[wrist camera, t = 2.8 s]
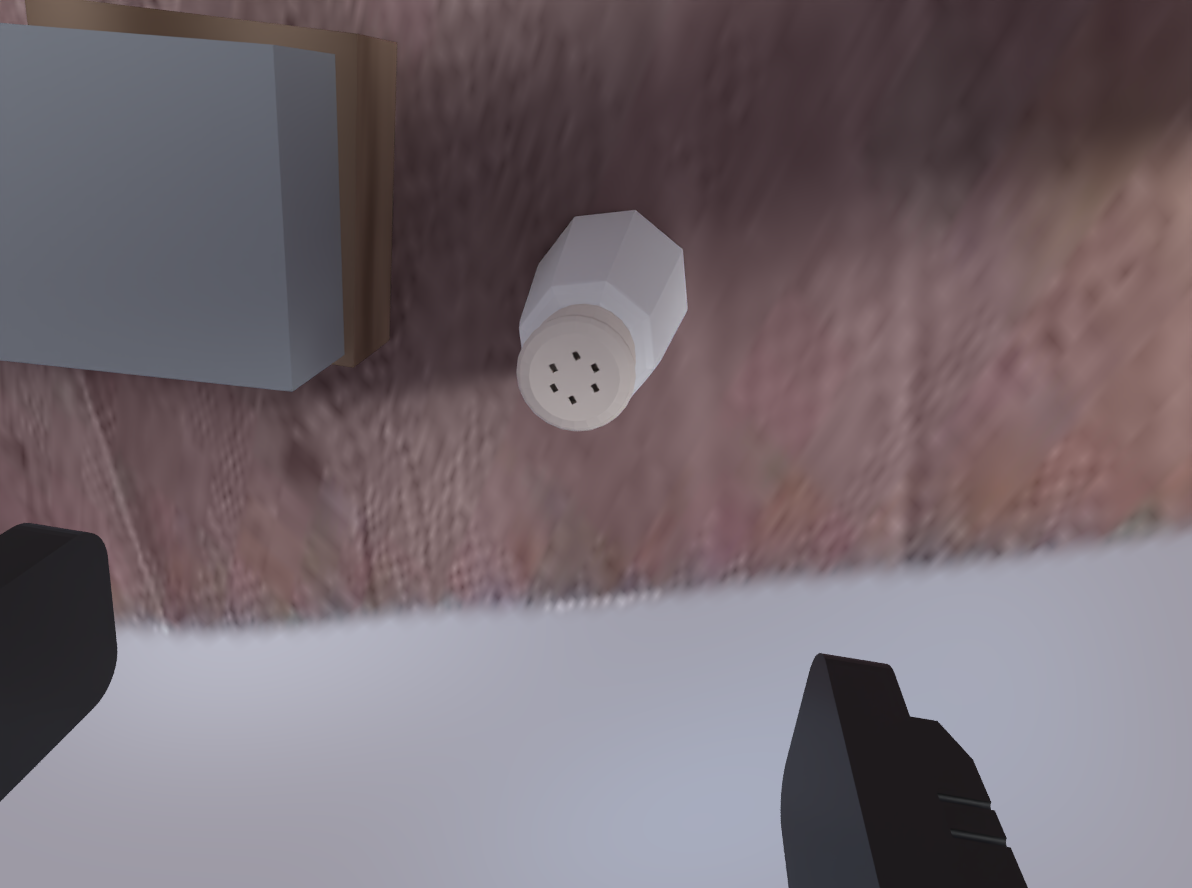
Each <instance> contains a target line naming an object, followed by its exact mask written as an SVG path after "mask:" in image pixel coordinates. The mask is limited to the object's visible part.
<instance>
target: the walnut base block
mask: <svg viewBox="0 0 1192 888" xmlns="http://www.w3.org/2000/svg"><path fill="white" fill-rule="evenodd" d="M25 5H26V13H27V22H28V25H32V26H44V27H57V28H69V29H82V30H94V31H107V32H120V33H132V34H145V35H157V36H170V37H182V38H195V39H207V40H220V41H232V42H245V43H258V44H270V45H278V46H285V47H291V48H298V49H304V50H311V51H317V52H324V53H330V54H335V70H336V101H337V133H338V164H339V195H340V227H341V258H342V289H343V321H344V352H345V355H343V356H342V357H341V358H339V359H338V360H336V361H335V362H334V363H332V365H339V366H346V367H353V368H354V367H355V366H356V365H358V364H359V363H360V362H362V361H363V360H364V359H366V358H367V357H368V356H369V355H371V354H372V353H373V352H375V351H376V350H377V349H379V348H380V347H381V346H383V345H384V344H385V343H386V342H388V341H389V336H390V297H391V259H392V220H393V181H394V143H395V104H396V65H397V43H396V42H391V41H387V40H383V39H378V38H374V37H369V36H365V35H360V34H355V33H347V32H339V31H330V30H322V29H314V28H306V27H298V26H289V25H281V24H273V23H265V22H256V21H248V20H240V19H232V18H224V17H215V16H207V15H199V14H191V13H183V12H174V11H166V10H158V9H150V8H142V7H133V6H125V5H117V4H109V3H100V2H92V1H84V0H25Z"/></svg>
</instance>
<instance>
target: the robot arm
mask: <svg viewBox="0 0 1192 888" xmlns="http://www.w3.org/2000/svg"><path fill="white" fill-rule="evenodd" d="M116 661H117V641H116V631H115V621H114V612H113V602H112V592H111V583H110V573H109V564H108V555H107V550H106V547H105V544H104V543H103V541H102V539H101V538H100V537H99V536H97V535H95V534H93V533H88V532H82V531H75V530H69V529H63V528H57V527H51V526H45V525H38V524H32V523H23V524H19V525H16V526H14V527H12V528H11V529H9V530H7V531H6V532H4V533H3V534H1V535H0V801H1V800H2V799H3V798H4V797H5V796H6V795H7V794H8V793H9V792H10V791H11V790H12V789H13V788H14V787H15V786H16V785H17V784H18V783H19V782H20V781H21V780H22V779H23V778H24V777H25V776H26V775H27V774H28V773H29V772H30V771H31V770H32V769H33V768H34V767H35V766H36V765H37V764H38V763H39V762H40V761H41V760H42V759H43V758H44V757H45V756H46V755H47V754H48V753H49V752H50V751H51V750H52V749H53V748H54V747H55V746H56V745H57V744H58V743H59V742H60V741H61V740H62V739H63V738H64V737H65V736H66V735H67V734H68V733H69V732H70V731H71V730H72V729H73V728H74V727H75V726H76V725H77V724H78V723H79V722H80V721H81V720H82V719H83V718H84V717H85V716H86V715H87V714H88V713H89V712H90V711H91V710H92V709H93V708H94V707H95V706H96V705H97V704H98V702H99V701H100V700H101V698H102V697H103V695H104V694H105V692H106V690H107V688H108V686H109V684H110V682H111V679H112V677H113V674H114V670H115V666H116ZM990 804H991V801H990V798H989V796H988V794H987V792H986V789H985V787H984V784H983V782H982V780H981V778H980V775H979V773H978V771H977V768H976V766H975V763H974V761H973V759H972V758H971V757H970V756H969V755H968V754H967V753H966V752H965V751H964V750H963V748H962V747H961V746H960V745H959V744H958V743H957V742H956V741H955V740H954V739H953V738H952V737H951V735H950V734H949V733H948V732H947V731H946V730H945V729H944V728H943V727H942V726H941V725H940V723H938V721H934V720H927V719H921V718H915V717H910V715H909V713H908V710H907V707H906V704H905V701H904V699H903V696H902V693H901V690H900V687H899V685H898V682H897V679H896V676H895V673H894V671H893V669H892V668H891V666H890V665H888V664H884V663H877V662H871V661H865V660H859V659H852V658H846V657H841V656H834V655H828V654H822V653H819V654H818V655H816V657H815V658H814V660H813V662H812V665H811V668H810V671H809V675H808V679H807V683H806V687H805V690H804V694H803V699H802V702H801V706H800V710H799V714H798V718H797V722H796V726H795V730H794V733H793V737H792V741H791V745H790V749H789V753H788V757H787V761H786V765H785V769H784V775H783V782H782V792H781V828H782V836H783V845H784V853H785V861H786V869H787V877H788V886H789V888H1028V887H1027V885H1026V883H1025V880H1024V878H1023V875H1022V873H1021V871H1020V869H1019V866H1018V864H1017V861H1016V859H1015V857H1014V855H1013V852H1012V850H1011V848H1010V847H1006V836H1005V833H1004V832H1003V829H1002V827H1001V824H1000V822H999V819H998V817H997V815H996V813H995V811H994V810H991V808H990Z"/></svg>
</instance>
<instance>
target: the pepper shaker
mask: <svg viewBox="0 0 1192 888" xmlns="http://www.w3.org/2000/svg"><path fill="white" fill-rule="evenodd" d="M687 310H688V307H687V294H686V282H685V270H684V257H683V249H682V248H681V247H679V246H678V245H677V244H676V243H675V242H673V241H672V240H671V239H670V238H669V237H667V236H666V235H665V234H664V233H663V232H661V231H660V230H659V229H658V228H657V227H655V226H654V225H653V224H652V223H651V222H649V221H648V220H647V219H646V218H645V217H643V216H642V215H641V214H640V213H639V212H637V211H636V210H630V211H621V212H612V213H603V214H594V215H584V216H575V217H574V218H573V219H572V221H571V222H570V223H569V225H568V226H567V227H566V229H565V230H564V231H563V232H562V234H561V235H560V236H559V238H558V239H557V240H556V242H555V243H554V244H553V246H552V247H551V248H550V250H549V251H548V252H547V254H546V255H545V256H544V257H543V259H542V260H541V261H540V263H539V264H538V267H537V270H536V273H535V276H534V279H533V282H532V285H531V288H530V291H529V294H528V297H527V300H526V303H525V306H524V310H523V313H522V316H521V319H520V324H519V333H520V340H521V347H522V349H521V351H520V354H519V356H518V362H517V371H516V374H517V380H518V387H519V389H520V392H521V394H522V396H523V398H524V401H525V402H526V403H527V405H528V406H529V407H530V409H531V410H532V411H533V412H534V413H535V414H536V415H537V416H538V417H540V418H541V419H542V420H544V421H545V422H546V423H549V424H551V425H553V426H555V427H558V428H560V429H565V430H571V431H586V430H592V429H595V428H598V427H601V426H604V425H606V424H607V423H609V422H610V421H612V420H613V419H615V418H616V417H618V415H619V414H620V413H621V412H622V411H623V410H624V409H625V407H626V406H627V404H628V402H629V400H630V398H631V397H632V396H633V394H634V393H635V392H636V391H637V390H638V389H639V387H640V386H641V385H642V384H643V383H644V382H645V381H646V379H647V378H648V377H649V376H650V375H651V373H652V372H653V371H654V369H655V368H656V367H657V365H658V364H659V363H660V361H661V359H662V357H663V355H664V354H665V352H666V350H667V348H668V346H669V344H670V342H671V340H672V338H673V337H674V335H675V333H676V331H677V329H678V327H679V325H680V323H681V321H682V320H683V318H684V316H685V314H686V312H687Z"/></svg>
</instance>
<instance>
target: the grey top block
mask: <svg viewBox="0 0 1192 888" xmlns="http://www.w3.org/2000/svg"><path fill="white" fill-rule="evenodd" d="M343 355H345V352H344V321H343V289H342V258H341V227H340V195H339V164H338V133H337V101H336V70H335V54H330V53H324V52H317V51H311V50H304V49H298V48H291V47H285V46H278V45H270V44H258V43H245V42H232V41H220V40H207V39H195V38H182V37H170V36H157V35H145V34H132V33H120V32H107V31H94V30H82V29H69V28H57V27H44V26H32V25H19V24H7V23H0V360H2V361H11V362H21V363H30V364H39V365H49V366H58V367H67V368H77V369H86V370H95V371H104V372H114V373H123V374H132V375H142V376H151V377H160V378H170V379H179V380H188V381H198V382H207V383H216V384H225V385H235V386H244V387H253V388H263V389H272V390H281V391H291V392H293V391H294V390H296V389H297V388H298V387H300V386H301V385H303V384H304V383H305V382H307V381H308V380H310V379H311V378H312V377H314V376H315V375H317V374H318V373H320V372H321V371H322V370H324V369H325V368H327V367H328V366H329V365H331V364H332V363H334V362H335V361H336V360H338V359H339V358H341V357H342V356H343Z"/></svg>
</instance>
